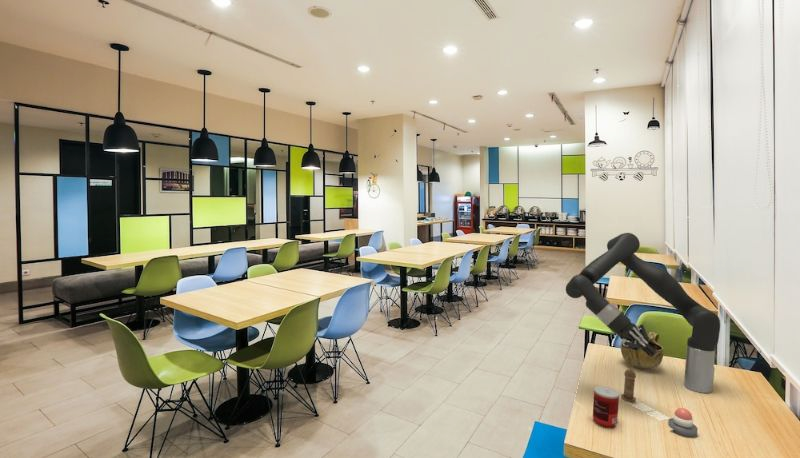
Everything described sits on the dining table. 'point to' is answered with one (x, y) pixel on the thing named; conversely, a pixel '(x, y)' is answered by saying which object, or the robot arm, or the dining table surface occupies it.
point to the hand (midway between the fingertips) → (654, 354)
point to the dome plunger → (683, 418)
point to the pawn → (629, 386)
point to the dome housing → (683, 429)
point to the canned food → (605, 406)
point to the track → (645, 408)
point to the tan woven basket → (644, 354)
